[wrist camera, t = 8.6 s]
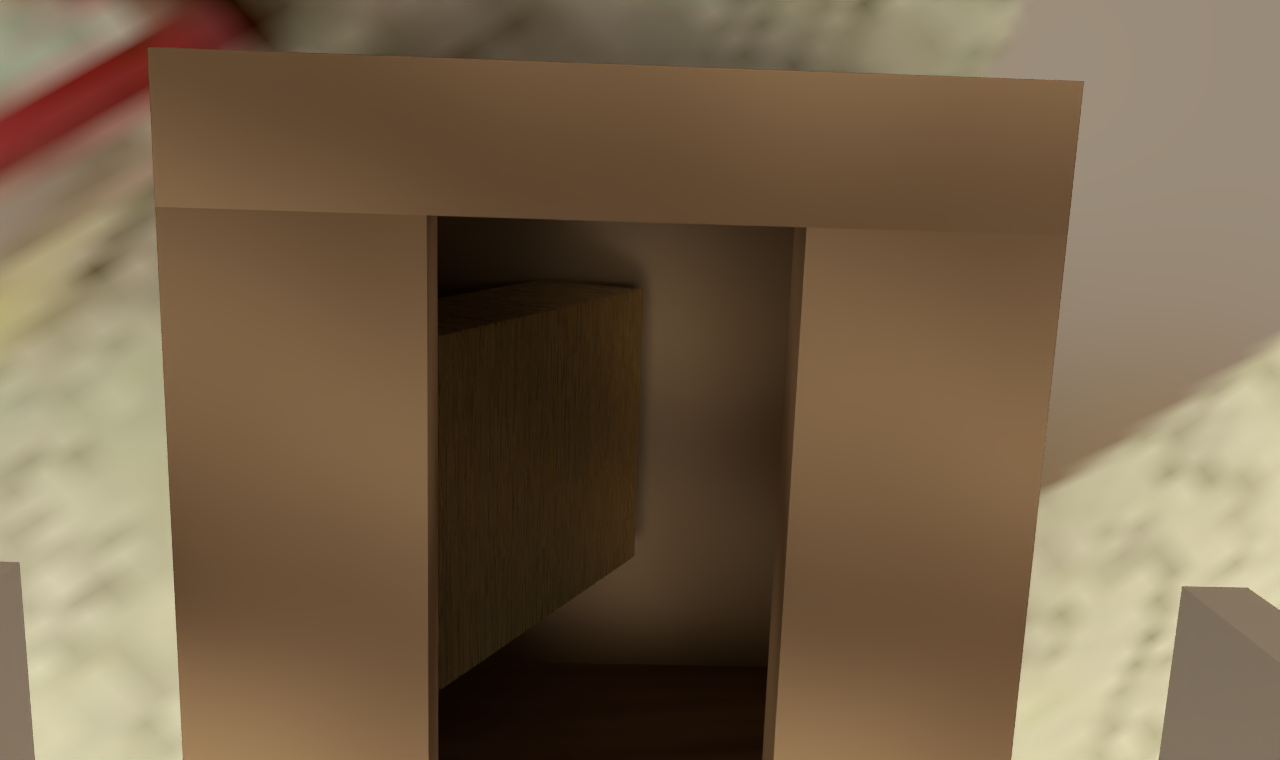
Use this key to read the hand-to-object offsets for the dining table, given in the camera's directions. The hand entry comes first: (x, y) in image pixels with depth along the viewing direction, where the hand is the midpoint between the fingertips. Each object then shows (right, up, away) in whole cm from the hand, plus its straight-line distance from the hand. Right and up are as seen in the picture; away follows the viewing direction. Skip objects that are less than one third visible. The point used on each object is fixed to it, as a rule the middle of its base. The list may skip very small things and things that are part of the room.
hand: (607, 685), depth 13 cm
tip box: (0, +3, +14) cm, 14 cm away
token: (-1, +3, +13) cm, 13 cm away
